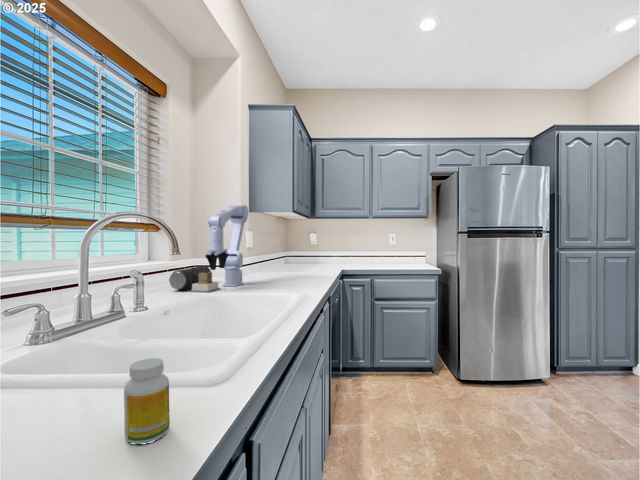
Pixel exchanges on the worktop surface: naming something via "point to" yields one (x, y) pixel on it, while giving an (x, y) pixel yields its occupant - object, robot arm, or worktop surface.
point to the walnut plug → (205, 277)
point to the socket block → (204, 287)
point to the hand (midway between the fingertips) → (217, 268)
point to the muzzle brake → (186, 277)
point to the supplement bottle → (146, 402)
